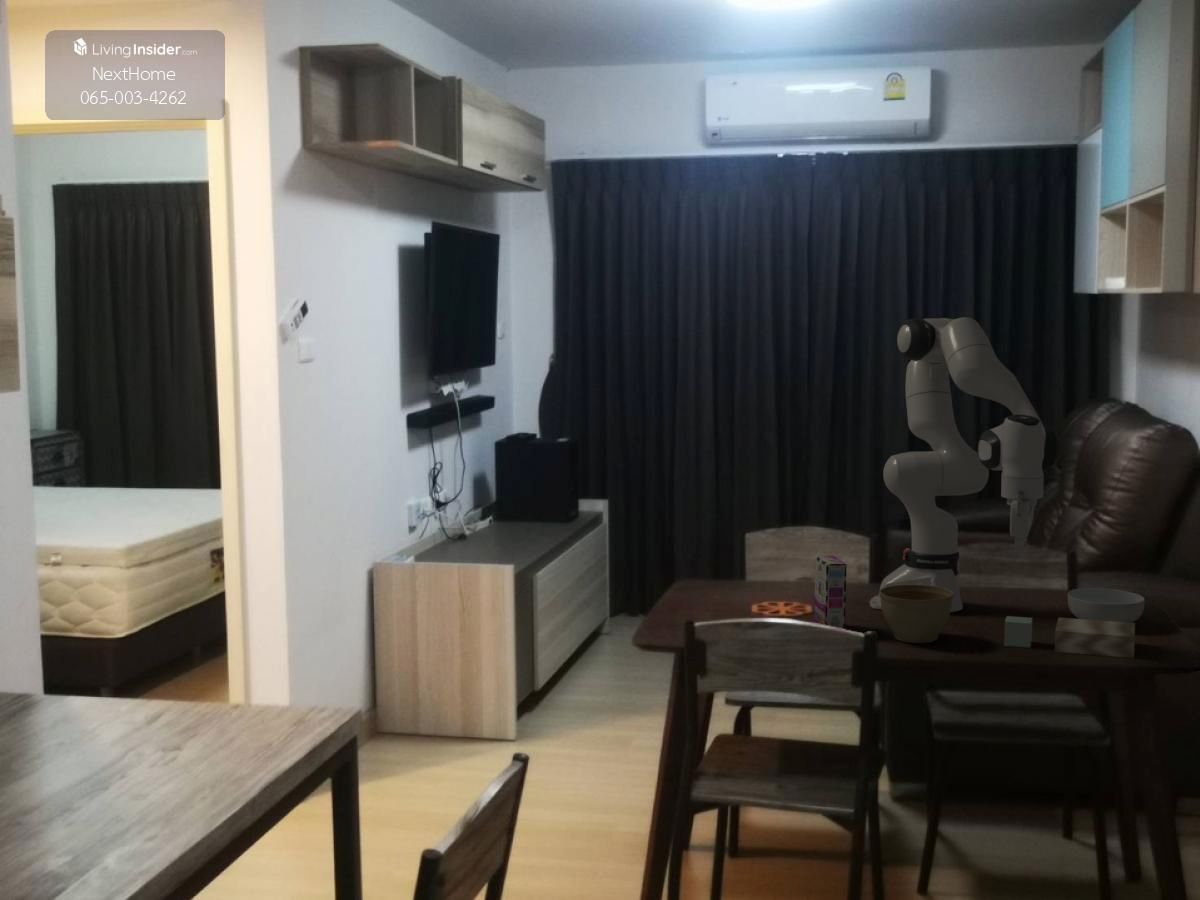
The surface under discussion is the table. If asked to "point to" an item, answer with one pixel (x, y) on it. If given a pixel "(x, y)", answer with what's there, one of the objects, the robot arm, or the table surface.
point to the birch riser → (1095, 637)
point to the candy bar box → (830, 591)
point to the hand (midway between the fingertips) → (1020, 551)
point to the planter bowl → (916, 611)
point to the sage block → (1018, 632)
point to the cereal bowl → (1105, 604)
